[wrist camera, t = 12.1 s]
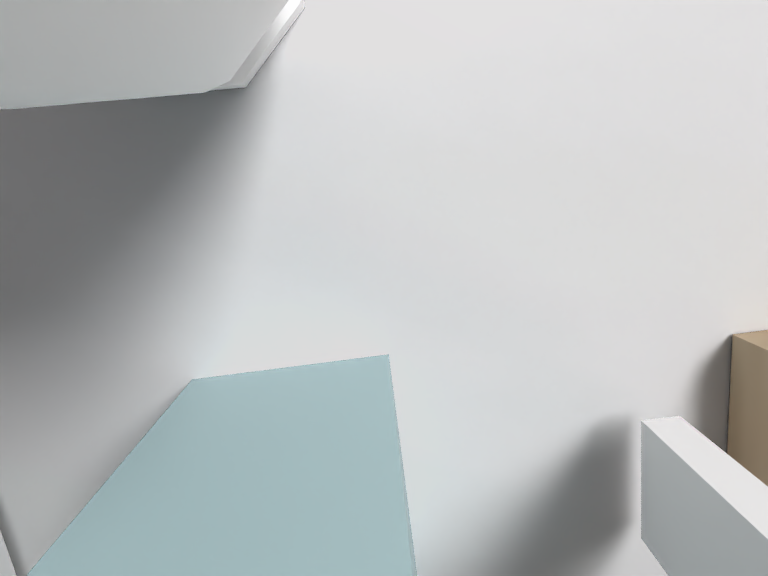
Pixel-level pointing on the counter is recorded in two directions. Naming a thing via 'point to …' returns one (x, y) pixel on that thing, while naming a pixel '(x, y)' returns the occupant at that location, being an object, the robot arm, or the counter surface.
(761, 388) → the tray
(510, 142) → the counter surface
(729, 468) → the robot arm
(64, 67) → the cup
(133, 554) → the pale teal block
